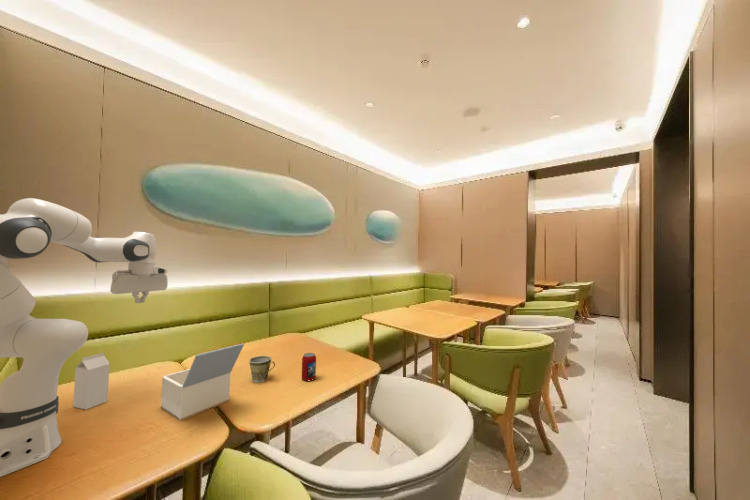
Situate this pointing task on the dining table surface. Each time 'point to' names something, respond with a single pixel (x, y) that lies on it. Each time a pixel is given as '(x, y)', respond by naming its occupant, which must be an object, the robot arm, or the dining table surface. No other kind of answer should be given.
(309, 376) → the beverage can
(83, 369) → the milk carton
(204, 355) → the carton lid flap
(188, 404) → the carton
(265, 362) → the ceramic cup
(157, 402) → the dining table surface
